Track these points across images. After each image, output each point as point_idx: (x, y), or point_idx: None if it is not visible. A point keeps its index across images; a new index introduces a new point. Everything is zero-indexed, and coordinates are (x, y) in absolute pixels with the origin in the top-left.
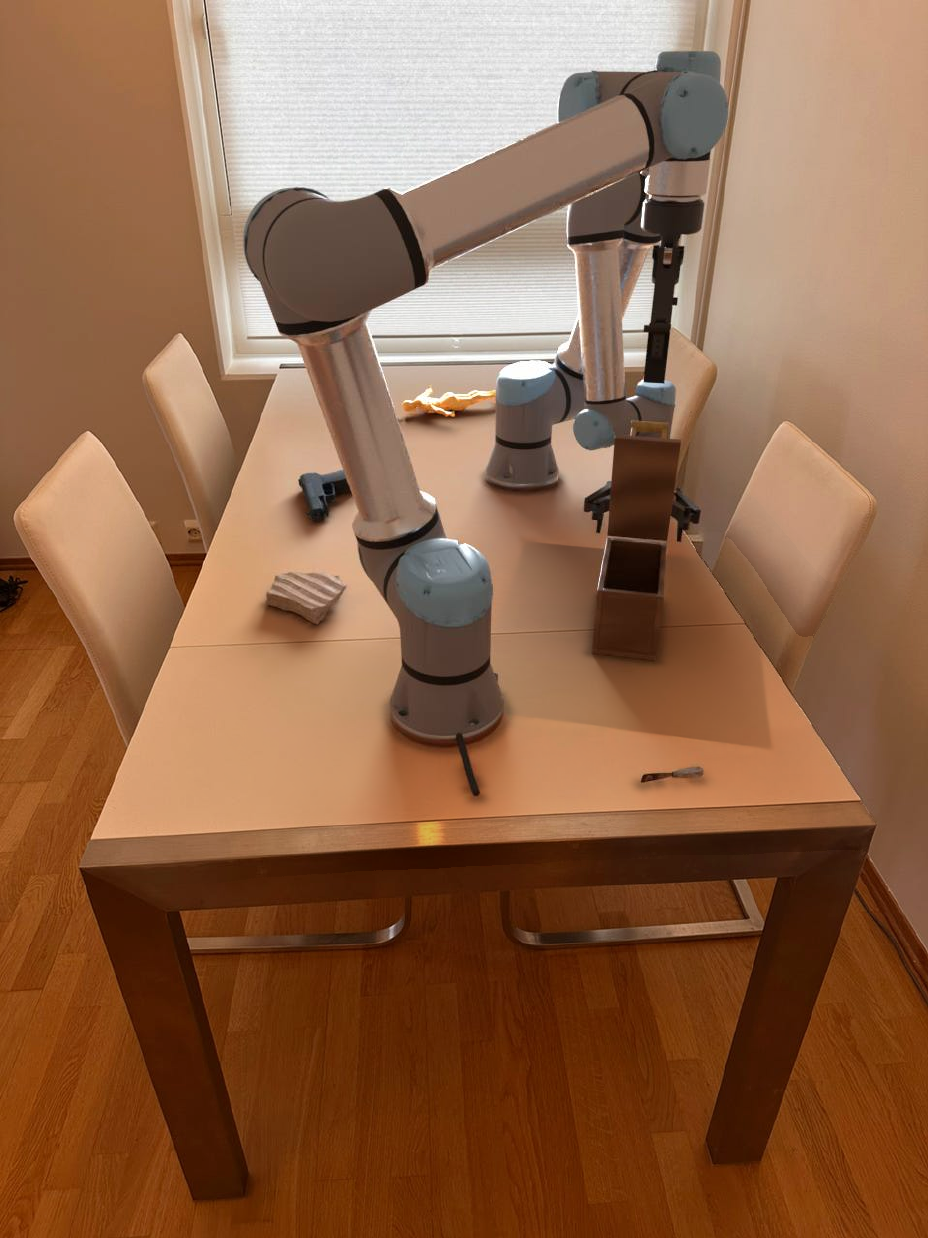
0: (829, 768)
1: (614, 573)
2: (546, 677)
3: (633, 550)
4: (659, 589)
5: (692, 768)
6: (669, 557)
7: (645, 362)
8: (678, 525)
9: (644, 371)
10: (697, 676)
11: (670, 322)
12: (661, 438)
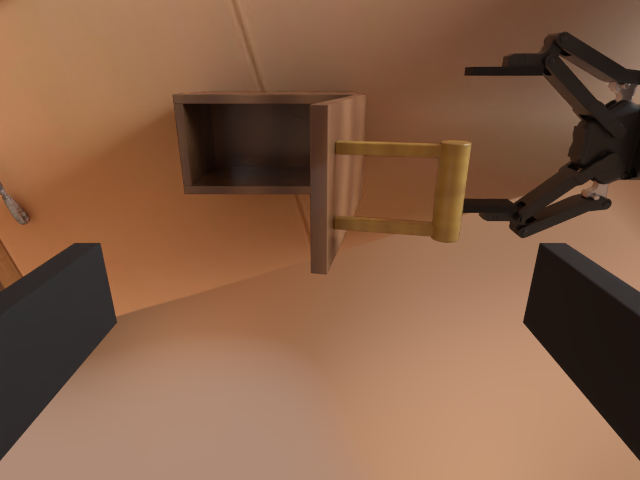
0: None
1: None
2: (132, 36)
3: None
4: (203, 187)
5: (14, 215)
6: (478, 181)
7: (10, 285)
8: (470, 204)
9: (45, 263)
10: (196, 217)
11: (621, 437)
12: (324, 229)
